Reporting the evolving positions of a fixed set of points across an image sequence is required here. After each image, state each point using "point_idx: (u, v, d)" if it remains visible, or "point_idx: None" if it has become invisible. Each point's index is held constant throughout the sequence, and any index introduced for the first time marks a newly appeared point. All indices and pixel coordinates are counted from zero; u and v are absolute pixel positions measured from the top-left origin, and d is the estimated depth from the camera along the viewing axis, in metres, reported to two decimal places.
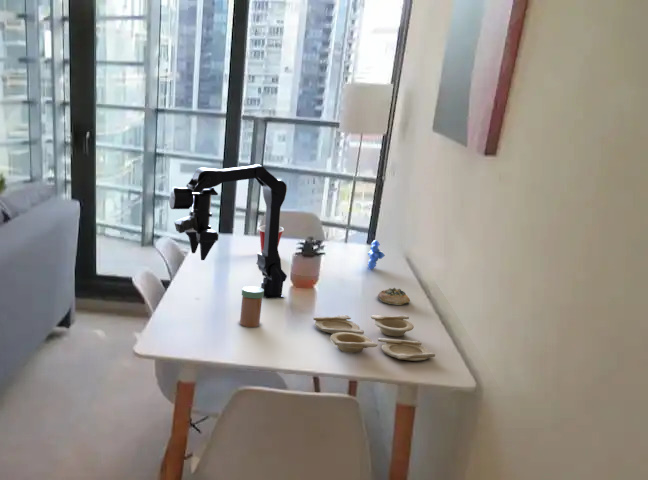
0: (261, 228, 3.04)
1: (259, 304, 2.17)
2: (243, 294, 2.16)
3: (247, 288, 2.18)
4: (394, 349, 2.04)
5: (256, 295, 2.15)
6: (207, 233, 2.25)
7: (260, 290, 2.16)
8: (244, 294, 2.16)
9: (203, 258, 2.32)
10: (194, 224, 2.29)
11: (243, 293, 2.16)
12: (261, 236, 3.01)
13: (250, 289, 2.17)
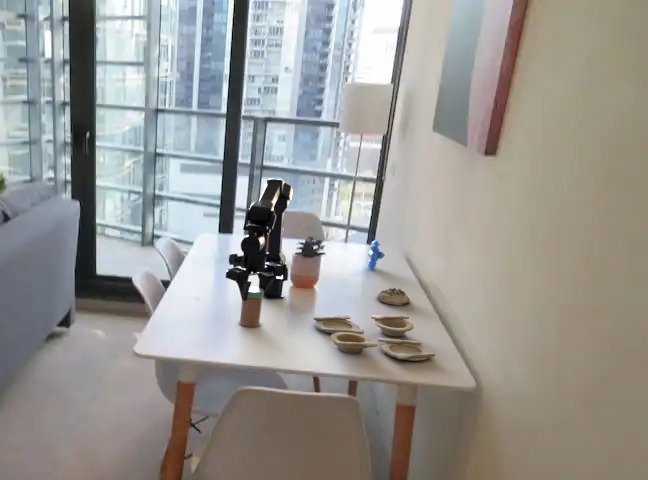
0: None
1: (259, 304, 2.17)
2: None
3: None
4: (394, 349, 2.04)
5: (256, 295, 2.15)
6: (230, 271, 2.10)
7: (260, 290, 2.16)
8: None
9: (243, 299, 2.16)
10: (241, 261, 2.14)
11: None
12: None
13: (250, 289, 2.17)
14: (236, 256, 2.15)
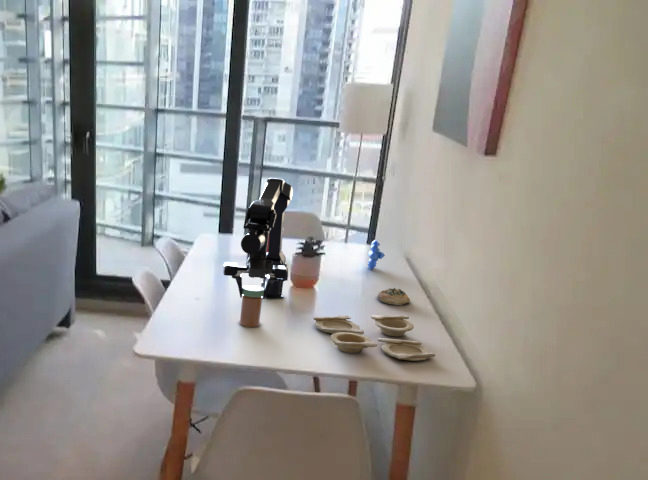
0: None
1: (259, 304, 2.17)
2: (263, 293, 2.17)
3: (256, 289, 2.15)
4: (394, 349, 2.04)
5: None
6: (286, 269, 2.13)
7: (248, 286, 2.19)
8: (263, 292, 2.17)
9: None
10: None
11: (263, 292, 2.17)
12: None
13: (256, 288, 2.17)
14: None
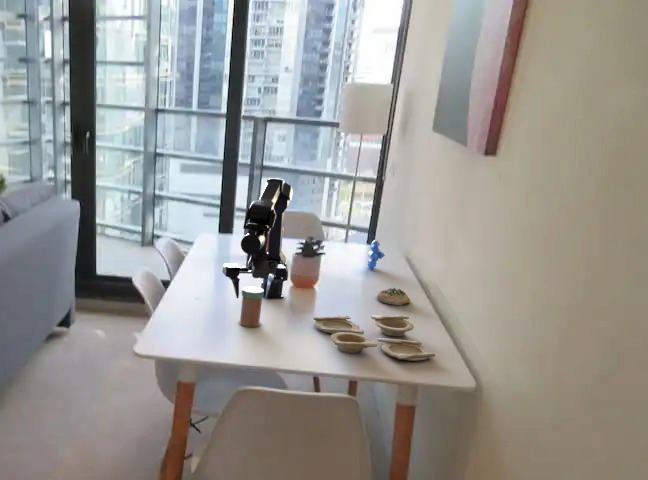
0: None
1: (259, 304, 2.17)
2: (263, 294, 2.17)
3: (257, 291, 2.16)
4: (394, 349, 2.04)
5: None
6: (285, 268, 2.14)
7: (247, 287, 2.19)
8: None
9: None
10: None
11: (263, 293, 2.17)
12: None
13: (256, 289, 2.17)
14: None
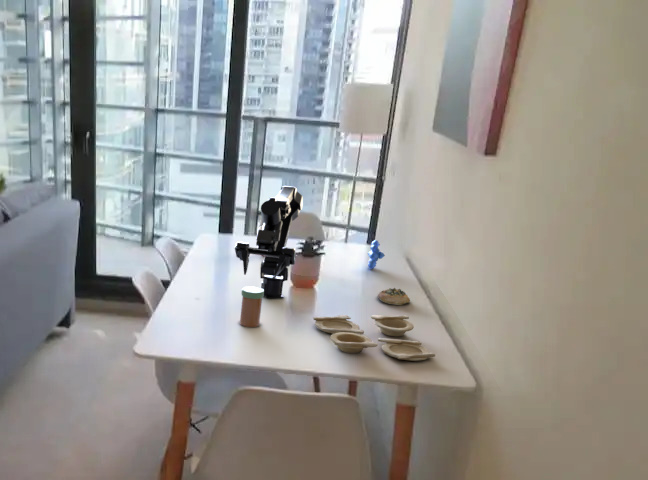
0: (261, 228, 3.04)
1: (259, 304, 2.17)
2: (263, 294, 2.17)
3: (257, 291, 2.16)
4: (394, 349, 2.04)
5: None
6: None
7: (247, 287, 2.19)
8: None
9: (275, 276, 2.21)
10: (275, 241, 2.23)
11: (263, 293, 2.17)
12: None
13: (256, 289, 2.17)
14: None
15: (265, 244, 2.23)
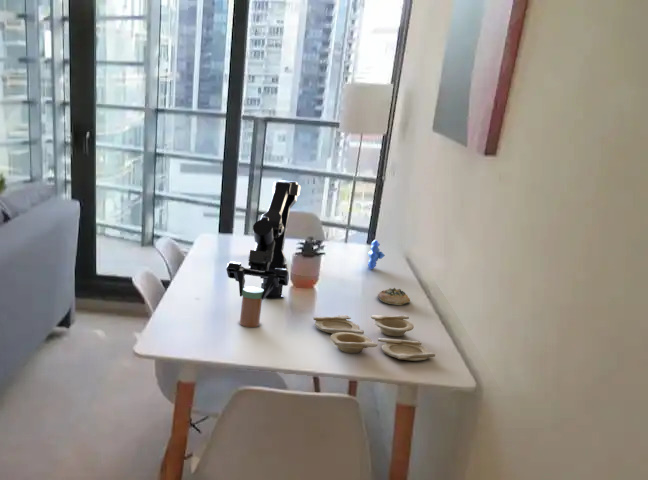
0: None
1: (259, 304, 2.17)
2: None
3: (257, 291, 2.16)
4: (394, 349, 2.04)
5: None
6: None
7: (247, 287, 2.19)
8: None
9: (264, 297, 2.16)
10: (268, 261, 2.17)
11: None
12: None
13: (256, 289, 2.17)
14: None
15: (257, 264, 2.17)
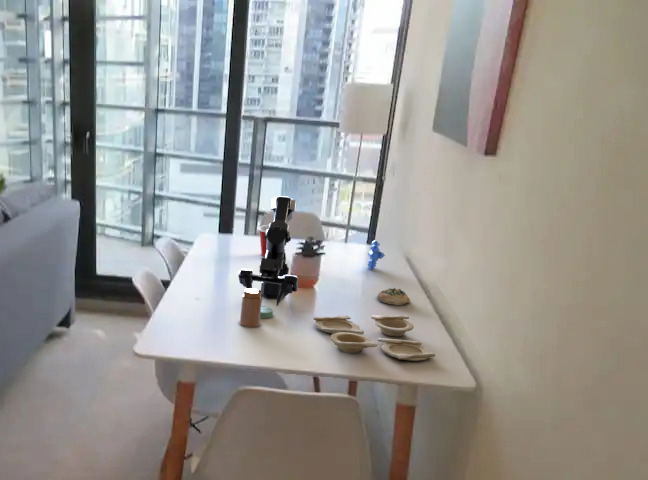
0: (261, 228, 3.04)
1: (259, 304, 2.17)
2: None
3: (266, 310, 2.28)
4: (394, 349, 2.04)
5: None
6: None
7: None
8: None
9: (278, 303, 2.26)
10: (278, 268, 2.27)
11: (272, 313, 2.30)
12: (261, 236, 3.01)
13: (265, 309, 2.29)
14: None
15: (268, 271, 2.28)
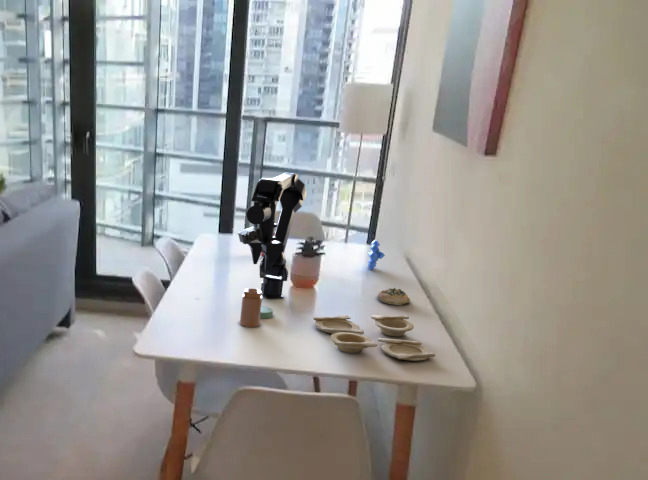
0: None
1: (259, 304, 2.17)
2: None
3: (266, 310, 2.28)
4: (394, 349, 2.04)
5: None
6: (273, 244, 2.22)
7: None
8: None
9: (267, 269, 2.29)
10: (259, 235, 2.26)
11: (272, 313, 2.30)
12: None
13: (265, 309, 2.29)
14: (253, 232, 2.25)
15: None
